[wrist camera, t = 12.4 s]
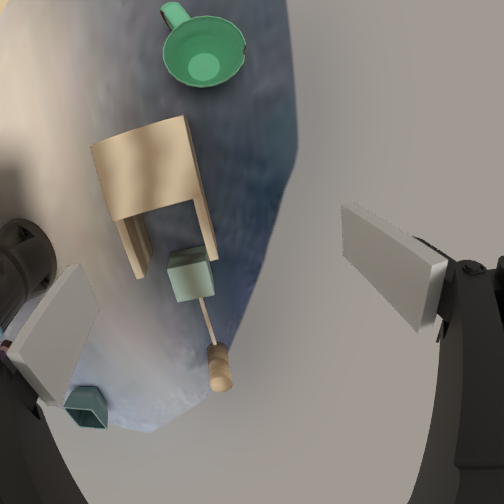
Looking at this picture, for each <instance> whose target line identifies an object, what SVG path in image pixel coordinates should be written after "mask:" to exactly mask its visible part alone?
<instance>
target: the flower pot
mask: <svg viewBox="0 0 504 504" xmlns="http://www.w3.org/2000/svg"><path fill="white" fill-rule="evenodd" d="M63 408H64V410H65V411H66V412H67V413H68V415H69V416H70V417H71V418H72V419H73V421H74V422H75V423H76V424H77V425H78V426H79V427H83V428H95V429H107V422H108V411H107V407H106V403H105V401H104V398H103V397H102V395H101V394H100V392H99V391H98V389H97V388H96V387H79V388H77V389H75V390H74V391H73V392H72V393H71V394H70V395H69V397H68V399H67V401H66V403H65V405H64V407H63Z"/></svg>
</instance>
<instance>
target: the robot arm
mask: <svg viewBox="0 0 504 504" xmlns="http://www.w3.org/2000/svg"><path fill="white" fill-rule="evenodd" d="M341 213H342V238H343V256H344V257H345V258H346V259H347V260H348V261H349V262H350V263H351V264H352V265H353V266H354V267H355V268H356V269H357V270H358V271H359V272H360V273H361V274H362V275H363V276H364V277H365V278H366V279H367V280H368V281H369V282H370V283H371V284H372V285H373V286H374V287H375V288H376V289H377V290H378V291H379V292H380V293H381V295H382V296H383V297H384V298H385V299H386V300H387V301H388V302H389V303H390V304H391V305H392V306H393V307H394V308H395V309H396V310H397V311H398V313H399V314H400V315H401V316H402V317H403V318H404V319H405V320H406V321H407V322H408V323H409V324H410V325H411V327H412V328H413V329H414V330H415V331H416V332H417V333H418V334H419V333H421V332H423V331H425V330H427V329H429V328H431V327H433V325H434V322H435V318H436V314H438V315H440V316H441V318H442V319H443V320H442V324H441V327H440V331H439V334H438V337H437V340H436V342H439V340H440V353H439V367H438V376H437V385H436V394H435V400H434V407H433V413H432V419H431V424H430V430H429V434H428V439H427V443H426V448H425V452H424V455H423V459H422V463H421V467H420V470H419V474H418V477H417V481H416V483H415V486H414V490H413V492H412V495H411V498H410V500H409V502H408V503H407V504H504V256H501V257H500V258H499V259H498V264H497V268H496V269H491V270H487V269H486V267H484V266H483V265H482V264H480V263H478V262H476V261H472V260H462V261H459V262H456V261H455V260H453V259H452V258H450V257H449V256H447V255H446V254H444V253H443V252H441V251H440V250H437V248H435V247H434V246H431V245H430V244H429V243H427V242H425V241H424V240H422V239H420V238H417V237H414V236H411V235H409V234H408V233H406V232H404V231H403V230H401V229H400V228H398V227H396V226H395V225H393V224H391V223H390V222H388V221H386V220H385V219H383V218H381V217H379V216H378V215H376V214H374V213H372V212H371V211H369V210H367V209H365V208H364V207H362V206H360V205H358V204H356V203H349V204H343V205H341ZM55 274H56V258H55V253H54V250H53V248H52V245H51V243H50V241H49V239H48V238H47V236H46V235H45V234H44V232H43V231H42V230H41V229H40V228H39V227H38V226H37V225H35V224H34V223H32V222H30V221H28V220H25V219H15V220H12V221H10V222H9V223H7V224H6V225H4V226H3V227H2V228H1V229H0V339H1V338H2V336H3V333H4V332H5V330H6V329H7V327H8V326H9V324H10V323H11V321H12V320H13V318H14V317H15V316H16V314H17V313H18V311H19V310H20V309H21V307H22V306H23V305H24V303H25V302H26V301H28V300H30V299H32V298H35V297H37V296H39V295H41V294H42V293H44V292H45V291H46V290H47V289H48V287H49V286H50V285H51V283H52V282H53V280H54V278H55ZM99 310H100V307H99V305H98V303H97V301H96V298H95V296H94V294H93V292H92V290H91V288H90V285H89V283H88V281H87V279H86V276H85V274H84V272H83V269H82V267H81V264H80V263H77V264H73V265H69V266H68V267H67V268H66V269H65V270H64V272H63V273H62V274H61V275H60V277H59V278H58V279H57V280H56V282H55V283H54V284H53V286H52V287H51V288H50V289H49V291H48V292H47V293H46V295H45V296H44V297H43V299H42V300H41V302H40V303H39V304H38V306H37V307H36V308H35V310H34V311H33V313H32V314H31V316H30V317H29V318H28V320H27V321H26V323H25V324H24V326H23V327H22V329H21V330H20V332H19V333H18V335H17V336H16V338H15V340H14V341H13V343H12V344H11V346H10V348H9V349H8V351H7V353H6V354H7V355H6V357H5V359H4V360H2V359H1V357H0V504H88V502H87V501H86V499H85V498H84V496H83V494H82V493H81V491H80V489H79V488H78V486H77V484H76V482H75V481H74V479H73V477H72V475H71V473H70V472H69V470H68V468H67V466H66V464H65V462H64V460H63V458H62V456H61V454H60V452H59V450H58V447H57V445H56V443H55V441H54V439H53V436H52V434H51V432H50V429H49V427H48V424H47V422H46V419H45V416H44V414H43V411H42V409H41V407H40V406H39V405H38V404H37V403H36V402H37V399H38V396H39V397H40V398H41V399H42V400H43V401H44V402H45V404H47V406H58V407H61V406H62V403H63V400H64V397H65V394H66V391H67V388H68V385H69V382H70V380H71V377H72V374H73V371H74V369H75V366H76V364H77V361H78V359H79V356H80V353H81V351H82V349H83V346H84V344H85V341H86V339H87V337H88V334H89V332H90V330H91V327H92V325H93V323H94V321H95V318H96V316H97V314H98V312H99Z"/></svg>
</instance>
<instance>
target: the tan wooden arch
mask: <svg viewBox="0 0 504 504" xmlns="http://www.w3.org/2000/svg"><path fill="white" fill-rule="evenodd" d="M90 148H91V152H92V156H93V160H94V164H95V167H96V171H97V175H98V178H99V182H100V185H101V188H102V192H103V195H104V198H105V201H106V205H107V208H108V211H109V214H110V217H111V220H112V222H114V221H115V223H116V226H117V229H118V231H119V234H120V237H121V240H122V243H123V245H124V248H125V251H126V253H127V256H128V258H129V261H130V264H131V266H132V269H133V271H134V274H135V276H136V278H137V279H140V278H144V277H145V274H146V271H147V268H148V266H149V263H150V260H151V257H152V254H153V248H152V246H151V243H150V240H149V237H148V234H147V231H146V228H145V225H144V222H143V218H142V215H141V213H143V212H147V211H150V210H154V209H157V208H161V207H165V206H168V205H172V204H176V203H179V202H183V201H187V200H191V199H193V201H194V204H195V208H196V212H197V216H198V220H199V223H200V227H201V231H202V234H203V238H204V242H205V245H206V249H207V252H208V256H209V260H210V261H213V260H217V259H219V258H218V251H217V244H216V237H215V232H214V229H213V225H212V221H211V217H210V213H209V209H208V205H207V201H206V197H205V193H204V188H203V184H202V180H201V176H200V172H199V168H198V163H197V159H196V155H195V150H194V146H193V142H192V137H191V133H190V128H189V124H188V119H187V118H186V117H185V116H184V115H181V116H178V117H174V118H170V119H167V120H163V121H160V122H156V123H153V124H150V125H146V126H143V127H140V128H137V129H134V130H131V131H128V132H125V133H122V134H119V135H117V136H114V137H111V138H108V139H106V140H103V141H100V142H98V143H95V144H93V146H90Z"/></svg>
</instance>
